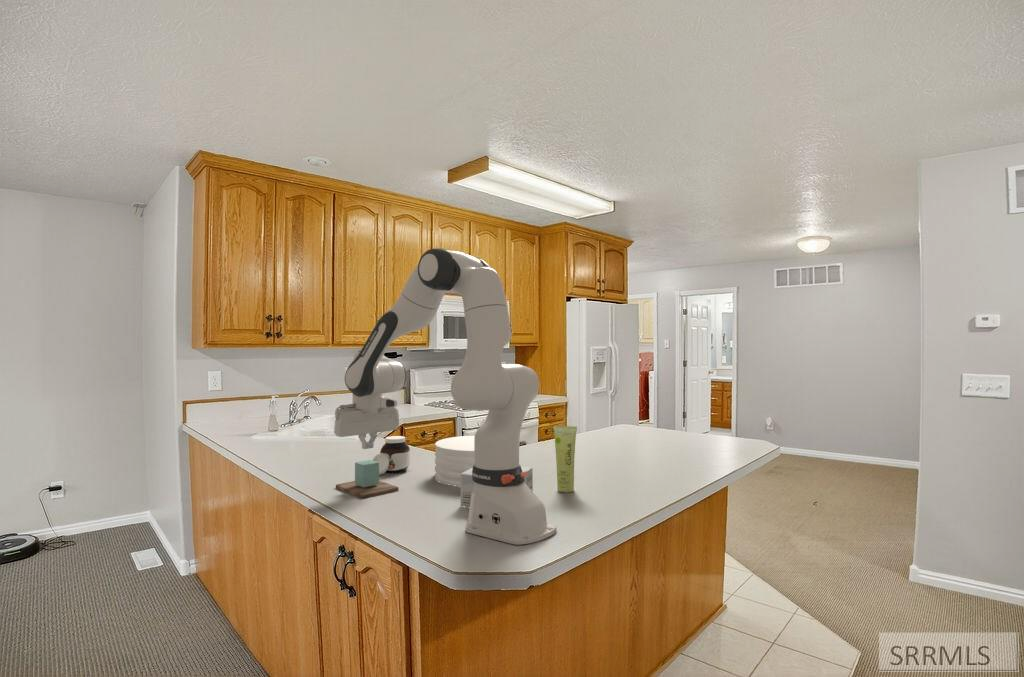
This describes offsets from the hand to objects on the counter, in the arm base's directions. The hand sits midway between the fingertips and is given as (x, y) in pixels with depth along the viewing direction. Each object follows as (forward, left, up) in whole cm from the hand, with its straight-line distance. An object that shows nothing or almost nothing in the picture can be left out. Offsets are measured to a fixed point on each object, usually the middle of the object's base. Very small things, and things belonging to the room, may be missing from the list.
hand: (367, 448), depth 158 cm
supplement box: (-37, -19, -13) cm, 44 cm away
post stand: (0, 0, -12) cm, 12 cm away
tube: (-43, -42, -13) cm, 61 cm away
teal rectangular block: (0, 0, -11) cm, 11 cm away
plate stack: (-11, -34, -13) cm, 38 cm away
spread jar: (+14, -17, -13) cm, 26 cm away
